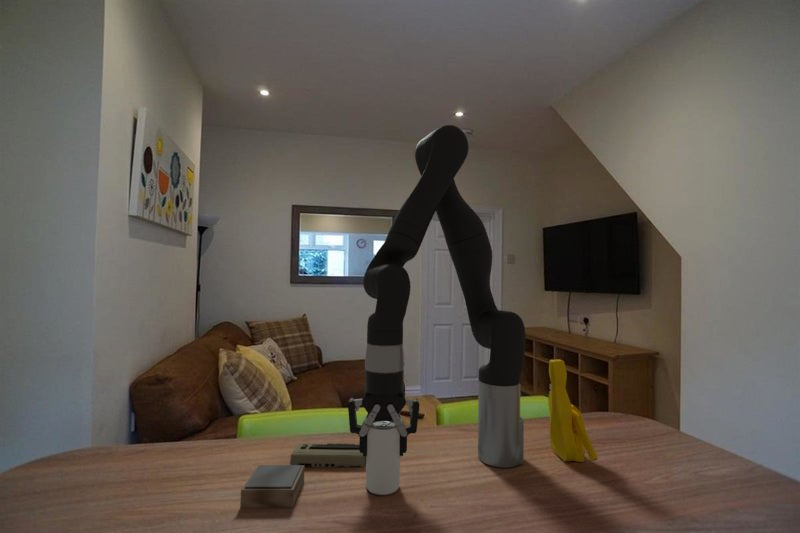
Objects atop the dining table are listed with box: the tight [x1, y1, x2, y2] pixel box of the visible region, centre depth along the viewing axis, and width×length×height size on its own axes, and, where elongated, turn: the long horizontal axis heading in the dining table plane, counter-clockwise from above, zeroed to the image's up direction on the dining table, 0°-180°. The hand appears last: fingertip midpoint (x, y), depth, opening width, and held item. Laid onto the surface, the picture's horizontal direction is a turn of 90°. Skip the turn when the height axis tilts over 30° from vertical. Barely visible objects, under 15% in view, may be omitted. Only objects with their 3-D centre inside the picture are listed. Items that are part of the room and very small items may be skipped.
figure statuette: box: [547, 358, 599, 463], centre depth 88 cm, size 18×8×22 cm, turn 4°
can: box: [365, 420, 401, 496], centre depth 74 cm, size 6×6×12 cm
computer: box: [289, 443, 366, 469], centre depth 85 cm, size 16×8×3 cm, turn 91°
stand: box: [239, 464, 306, 509], centre depth 71 cm, size 9×9×3 cm
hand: (382, 454), depth 74 cm, fingers closed on can, 6 cm apart
